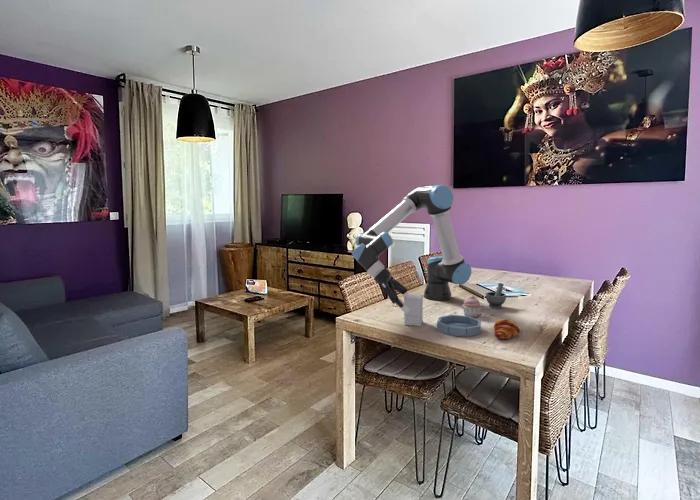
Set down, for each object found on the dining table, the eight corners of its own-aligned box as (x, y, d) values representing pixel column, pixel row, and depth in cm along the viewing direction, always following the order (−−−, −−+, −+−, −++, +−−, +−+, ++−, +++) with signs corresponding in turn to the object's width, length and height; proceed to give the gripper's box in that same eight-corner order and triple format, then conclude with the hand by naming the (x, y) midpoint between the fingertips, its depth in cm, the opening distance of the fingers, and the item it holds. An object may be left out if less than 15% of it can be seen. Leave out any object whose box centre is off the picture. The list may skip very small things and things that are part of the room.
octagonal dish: (440, 320, 182) (440, 313, 182) (481, 324, 176) (481, 317, 175) (434, 333, 165) (434, 325, 165) (480, 338, 159) (480, 330, 159)
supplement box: (423, 321, 182) (423, 294, 180) (420, 326, 175) (420, 298, 173) (406, 320, 184) (407, 293, 182) (403, 325, 177) (404, 297, 175)
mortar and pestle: (499, 311, 197) (500, 287, 195) (481, 307, 203) (482, 284, 202) (509, 306, 204) (511, 283, 202) (492, 303, 211) (493, 281, 209)
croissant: (506, 333, 175) (498, 316, 176) (528, 327, 169) (520, 309, 170) (491, 347, 158) (482, 328, 159) (515, 340, 152) (506, 321, 153)
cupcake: (472, 319, 183) (473, 298, 182) (457, 314, 191) (457, 294, 190) (486, 316, 188) (486, 295, 187) (470, 311, 196) (471, 291, 195)
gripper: (380, 273, 194) (410, 305, 191) (365, 283, 171) (399, 321, 168) (391, 263, 191) (422, 295, 188) (377, 272, 168) (411, 310, 165)
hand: (411, 307), depth 178 cm, fingers open, 13 cm apart
